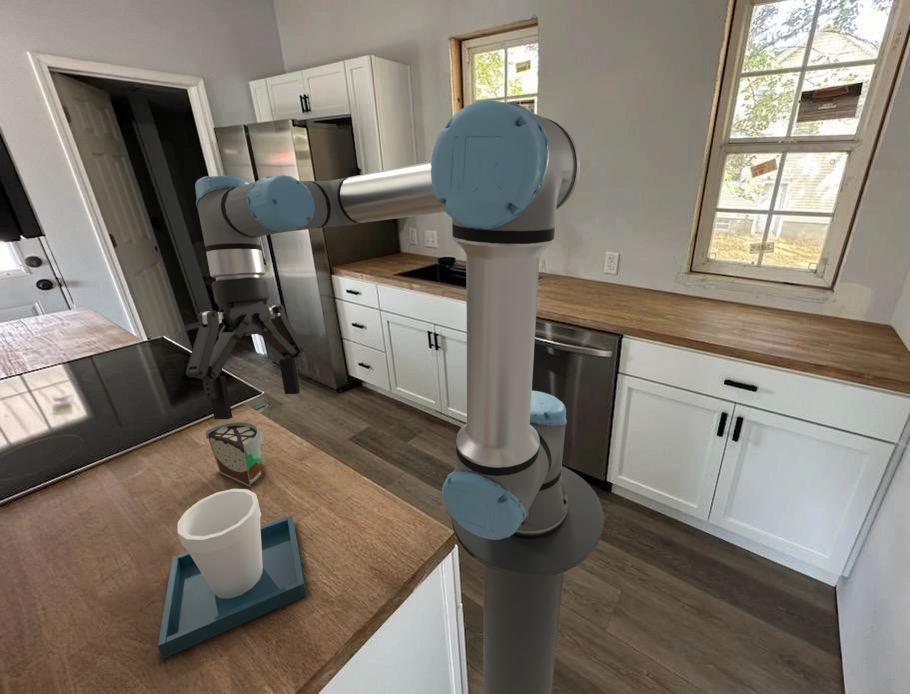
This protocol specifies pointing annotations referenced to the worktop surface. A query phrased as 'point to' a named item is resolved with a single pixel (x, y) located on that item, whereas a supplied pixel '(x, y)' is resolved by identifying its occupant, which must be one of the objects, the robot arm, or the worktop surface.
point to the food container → (237, 451)
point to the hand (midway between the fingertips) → (261, 405)
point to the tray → (206, 615)
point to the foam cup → (225, 540)
